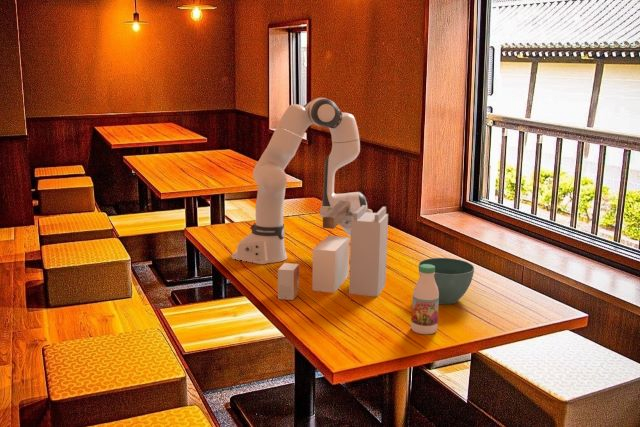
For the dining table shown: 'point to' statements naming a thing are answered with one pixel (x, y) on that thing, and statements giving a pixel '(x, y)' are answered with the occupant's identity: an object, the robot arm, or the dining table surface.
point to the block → (330, 263)
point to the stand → (368, 252)
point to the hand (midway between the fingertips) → (342, 207)
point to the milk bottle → (425, 302)
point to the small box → (288, 281)
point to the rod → (336, 214)
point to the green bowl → (451, 278)
